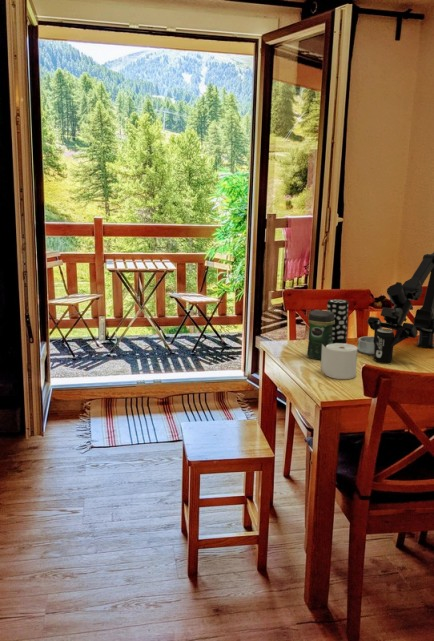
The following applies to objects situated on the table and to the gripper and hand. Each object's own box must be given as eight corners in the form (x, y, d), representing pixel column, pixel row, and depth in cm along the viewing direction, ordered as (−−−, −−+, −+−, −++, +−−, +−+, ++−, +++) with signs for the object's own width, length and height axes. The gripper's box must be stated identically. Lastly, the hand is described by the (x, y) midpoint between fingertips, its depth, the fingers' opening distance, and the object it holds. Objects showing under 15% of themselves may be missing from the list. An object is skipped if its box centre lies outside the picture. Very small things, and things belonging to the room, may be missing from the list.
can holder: (359, 346, 226) (360, 335, 225) (388, 349, 221) (389, 338, 220) (354, 353, 215) (355, 341, 214) (384, 356, 211) (385, 344, 210)
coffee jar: (335, 357, 210) (338, 310, 206) (327, 362, 204) (329, 313, 200) (312, 353, 216) (314, 307, 212) (304, 357, 209) (305, 310, 205)
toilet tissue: (357, 380, 183) (359, 351, 181) (321, 378, 185) (322, 350, 183) (354, 370, 194) (356, 343, 191) (320, 369, 196) (321, 342, 193)
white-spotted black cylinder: (342, 353, 215) (344, 303, 211) (322, 350, 220) (324, 301, 215) (348, 348, 222) (351, 300, 218) (329, 345, 227) (331, 298, 222)
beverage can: (393, 364, 201) (395, 332, 199) (374, 363, 203) (376, 332, 200) (391, 359, 208) (393, 328, 205) (373, 358, 209) (375, 327, 206)
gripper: (371, 296, 209) (353, 328, 204) (416, 302, 196) (398, 337, 191) (380, 313, 216) (363, 344, 211) (425, 320, 203) (408, 354, 198)
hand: (382, 344), depth 203 cm, fingers closed on beverage can, 6 cm apart
